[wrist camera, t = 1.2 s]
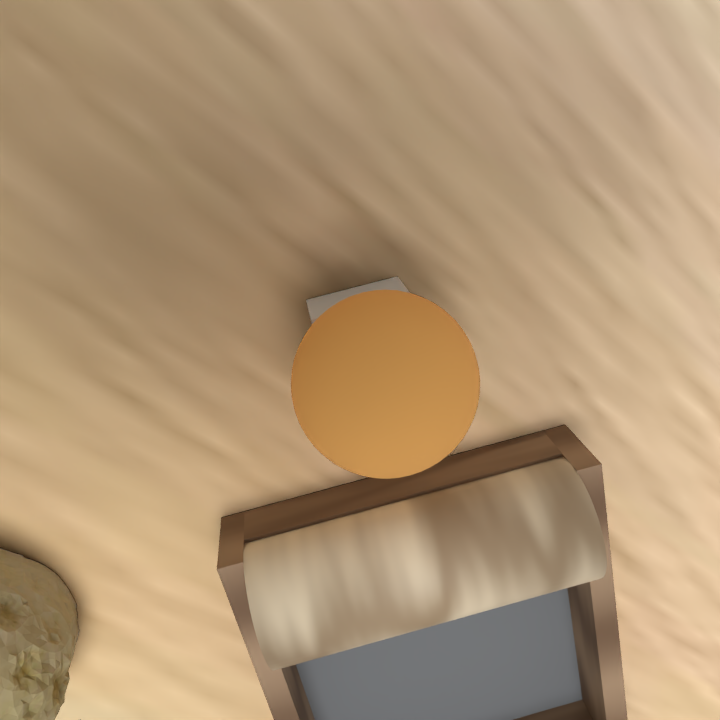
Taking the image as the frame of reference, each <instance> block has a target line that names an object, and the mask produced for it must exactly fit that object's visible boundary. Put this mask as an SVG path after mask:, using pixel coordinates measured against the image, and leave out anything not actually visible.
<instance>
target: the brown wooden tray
mask: <svg viewBox="0 0 720 720" xmlns="http://www.w3.org/2000/svg"><path fill="white" fill-rule="evenodd" d="M538 436H539V437H538ZM514 443H515V444H514ZM217 571H218V573H219V576H220V578H221V581H222V584H223V586H224V589H225V592H226V594H227V597H228V600H229V602H230V605H231V607H232V610H233V613H234V615H235V618H236V621H237V623H238V626H239V629H240V631H241V634H242V636H243V639H244V642H245V644H246V647H247V650H248V652H249V655H250V658H251V660H252V663H253V665H254V668H255V671H256V673H257V676H258V679H259V681H260V684H261V687H262V689H263V692H264V694H265V697H266V700H267V702H268V705H269V708H270V710H271V713H272V716H273V718H274V720H315V719H314V716H313V713H312V710H311V707H310V704H309V702H308V699H307V696H306V693H305V690H304V687H303V684H302V681H301V678H300V676H299V673H298V670H297V667H296V664H299V663H303V662H306V661H310V660H313V659H317V658H321V657H324V656H328V655H331V654H335V653H338V652H342V651H345V650H349V649H353V648H356V647H360V646H363V645H367V644H370V643H374V642H377V641H381V640H385V639H388V638H392V637H395V636H399V635H402V634H406V633H409V632H413V631H416V630H420V629H424V628H427V627H431V626H434V625H438V624H441V623H445V622H448V621H452V620H456V619H459V618H463V617H466V616H470V615H473V614H477V613H480V612H484V611H488V610H491V609H495V608H498V607H502V606H505V605H509V604H512V603H516V602H520V601H523V600H527V599H530V598H534V597H537V596H541V595H544V594H548V593H552V592H555V591H559V590H562V589H566V588H567V589H568V596H569V604H570V611H571V619H572V626H573V634H574V641H575V648H576V656H577V663H578V671H579V678H580V685H581V693H582V700H579V701H576V702H572V703H569V704H565V705H562V706H558V707H555V708H551V709H548V710H545V711H541V712H538V713H534V714H531V715H527V716H524V717H520V718H517V719H513V720H627V710H626V700H625V690H624V681H623V671H622V661H621V651H620V641H619V631H618V621H617V612H616V602H615V592H614V582H613V572H612V562H611V552H610V543H609V533H608V523H607V513H606V503H605V493H604V484H603V474H602V464H601V463H600V462H599V461H598V460H597V459H596V457H595V456H594V455H593V454H592V453H591V452H590V451H589V450H588V449H587V448H586V447H585V446H584V445H583V443H582V442H581V441H580V440H579V439H578V438H577V437H576V436H575V435H574V434H573V433H572V432H571V430H570V429H569V428H568V427H567V426H566V425H563V426H559V427H555V428H552V429H548V430H544V431H541V432H537V433H533V434H529V435H526V436H522V437H518V438H515V439H511V440H507V441H504V442H500V443H496V444H492V445H489V446H485V447H481V448H478V449H474V450H470V451H467V452H463V453H459V454H455V455H452V456H448V457H445V458H444V459H442V460H441V461H440V462H438V463H437V464H435V465H433V466H432V467H430V468H428V469H426V470H424V471H421V472H419V473H416V474H413V475H410V476H405V477H400V478H391V479H380V478H371V477H370V478H367V479H363V480H359V481H356V482H352V483H348V484H345V485H341V486H337V487H333V488H330V489H326V490H322V491H319V492H315V493H311V494H308V495H304V496H300V497H296V498H293V499H289V500H285V501H282V502H278V503H274V504H271V505H267V506H263V507H259V508H256V509H252V510H248V511H245V512H241V513H237V514H234V515H230V516H226V517H223V518H221V529H220V540H219V552H218V564H217Z"/></svg>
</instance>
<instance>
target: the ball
mask: <svg viewBox="0 0 720 720" xmlns="http://www.w3.org/2000/svg"><path fill="white" fill-rule="evenodd" d="M291 393H292V400H293V405H294V409H295V413H296V415H297V418H298V421H299V423H300V425H301V427H302V429H303V431H304V433H305V434H306V436H307V437H308V439H309V440H310V441H311V443H312V444H313V445H314V447H315V448H316V449H317V450H318V451H319V452H320V453H321V454H323V455H324V456H325V457H326V458H328V459H329V460H330V461H332V462H333V463H334V464H336V465H338V466H339V467H341V468H343V469H345V470H347V471H350V472H352V473H355V474H358V475H362V476H366V477H371V478H380V479H391V478H400V477H405V476H410V475H413V474H416V473H419V472H421V471H424V470H426V469H428V468H430V467H432V466H433V465H435V464H437V463H438V462H440V461H441V460H442V459H444V458H445V457H446V456H448V455H449V454H450V453H451V452H452V451H453V450H454V449H455V448H456V447H457V445H458V444H459V443H460V442H461V440H462V439H463V438H464V436H465V434H466V433H467V431H468V429H469V427H470V425H471V423H472V421H473V419H474V416H475V413H476V410H477V406H478V401H479V393H480V375H479V368H478V364H477V360H476V356H475V352H474V350H473V348H472V345H471V343H470V341H469V339H468V338H467V336H466V334H465V333H464V331H463V329H462V328H461V327H460V326H459V324H458V323H457V322H456V321H455V320H454V319H453V318H452V317H451V316H450V315H449V314H448V313H447V312H446V311H445V310H443V309H442V308H440V307H439V306H438V305H436V304H435V303H433V302H431V301H429V300H427V299H425V298H423V297H420V296H418V295H415V294H412V293H408V292H403V291H398V290H373V291H367V292H362V293H359V294H356V295H353V296H350V297H348V298H346V299H344V300H342V301H339V302H338V303H336V304H335V305H333V306H332V307H330V308H329V309H328V310H326V311H325V312H324V313H323V314H321V315H320V316H319V317H318V319H317V320H316V321H315V322H314V323H313V324H312V325H311V327H310V328H309V329H308V331H307V332H306V334H305V336H304V337H303V339H302V341H301V343H300V345H299V347H298V350H297V353H296V355H295V358H294V363H293V367H292V377H291Z"/></svg>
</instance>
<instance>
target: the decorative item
mask: <svg viewBox="0 0 720 720" xmlns="http://www.w3.org/2000/svg"><path fill="white" fill-rule="evenodd" d="M76 607H77V604H76V602H75V601H74V599H73V597H72V595H71V593H70V591H69V589H68V588H67V587H66V585H65V584H64V582H63V581H62V580H61V579H60V578H59V577H58V575H57V574H56V573H54V572H53V571H52V570H50V569H49V568H47V567H46V566H44V565H42V564H40V563H38V562H35V561H33V560H30V559H28V558H25V557H23V555H20V554H16V553H12V552H10V551H7V550H4V549H2V548H0V720H55V718H56V716H57V714H58V712H59V710H60V707H61V706H62V704H63V703H64V696H65V692H66V689H67V685H68V682H69V679H70V678H69V673H68V670H69V667H70V663H71V660H72V658H73V655H74V650H75V645H76V641H77V639H78V635H79V628H78V623H77V615H78V614H77V612H76Z"/></svg>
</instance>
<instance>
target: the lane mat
mask: <svg viewBox="0 0 720 720" xmlns="http://www.w3.org/2000/svg"><path fill="white" fill-rule="evenodd" d="M538 437H539V436H538ZM514 444H515V443H514ZM296 667H297V670H298V673H299V676H300V678H301V681H302V684H303V687H304V690H305V693H306V696H307V699H308V702H309V704H310V707H311V710H312V713H313V716H314V719H315V720H513V719H517V718H520V717H524V716H527V715H531V714H534V713H538V712H541V711H545V710H548V709H551V708H555V707H558V706H562V705H565V704H569V703H572V702H576V701H579V700H582V693H581V685H580V678H579V671H578V663H577V656H576V648H575V641H574V634H573V626H572V619H571V611H570V604H569V596H568V589H567V588H566V589H562V590H559V591H555V592H552V593H548V594H544V595H541V596H537V597H534V598H530V599H527V600H523V601H520V602H516V603H512V604H509V605H505V606H502V607H498V608H495V609H491V610H488V611H484V612H480V613H477V614H473V615H470V616H466V617H463V618H459V619H456V620H452V621H448V622H445V623H441V624H438V625H434V626H431V627H427V628H424V629H420V630H416V631H413V632H409V633H406V634H402V635H399V636H395V637H392V638H388V639H385V640H381V641H377V642H374V643H370V644H367V645H363V646H360V647H356V648H353V649H349V650H345V651H342V652H338V653H335V654H331V655H328V656H324V657H321V658H317V659H313V660H310V661H306V662H303V663H299V664H296Z"/></svg>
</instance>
